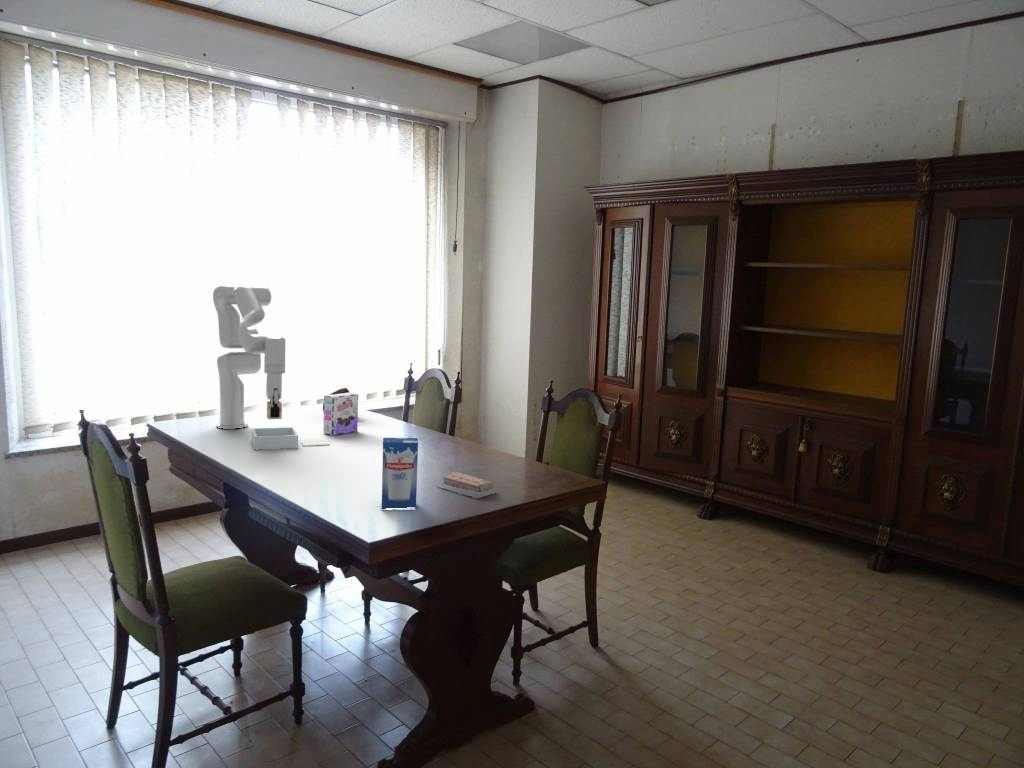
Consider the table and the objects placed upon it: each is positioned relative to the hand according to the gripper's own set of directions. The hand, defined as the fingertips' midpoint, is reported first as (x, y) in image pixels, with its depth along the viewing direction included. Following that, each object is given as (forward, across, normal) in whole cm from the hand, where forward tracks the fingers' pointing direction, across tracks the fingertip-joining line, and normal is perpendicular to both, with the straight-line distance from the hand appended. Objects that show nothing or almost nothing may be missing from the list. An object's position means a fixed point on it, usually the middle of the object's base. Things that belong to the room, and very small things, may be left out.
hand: (274, 415), depth 283 cm
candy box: (+12, -16, +28) cm, 35 cm away
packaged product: (+11, +76, +52) cm, 93 cm away
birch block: (+1, 0, 0) cm, 1 cm away
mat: (+11, +1, +15) cm, 19 cm away
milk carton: (+10, +88, +27) cm, 92 cm away
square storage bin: (+11, +1, 0) cm, 11 cm away
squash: (+12, -48, +33) cm, 60 cm away
